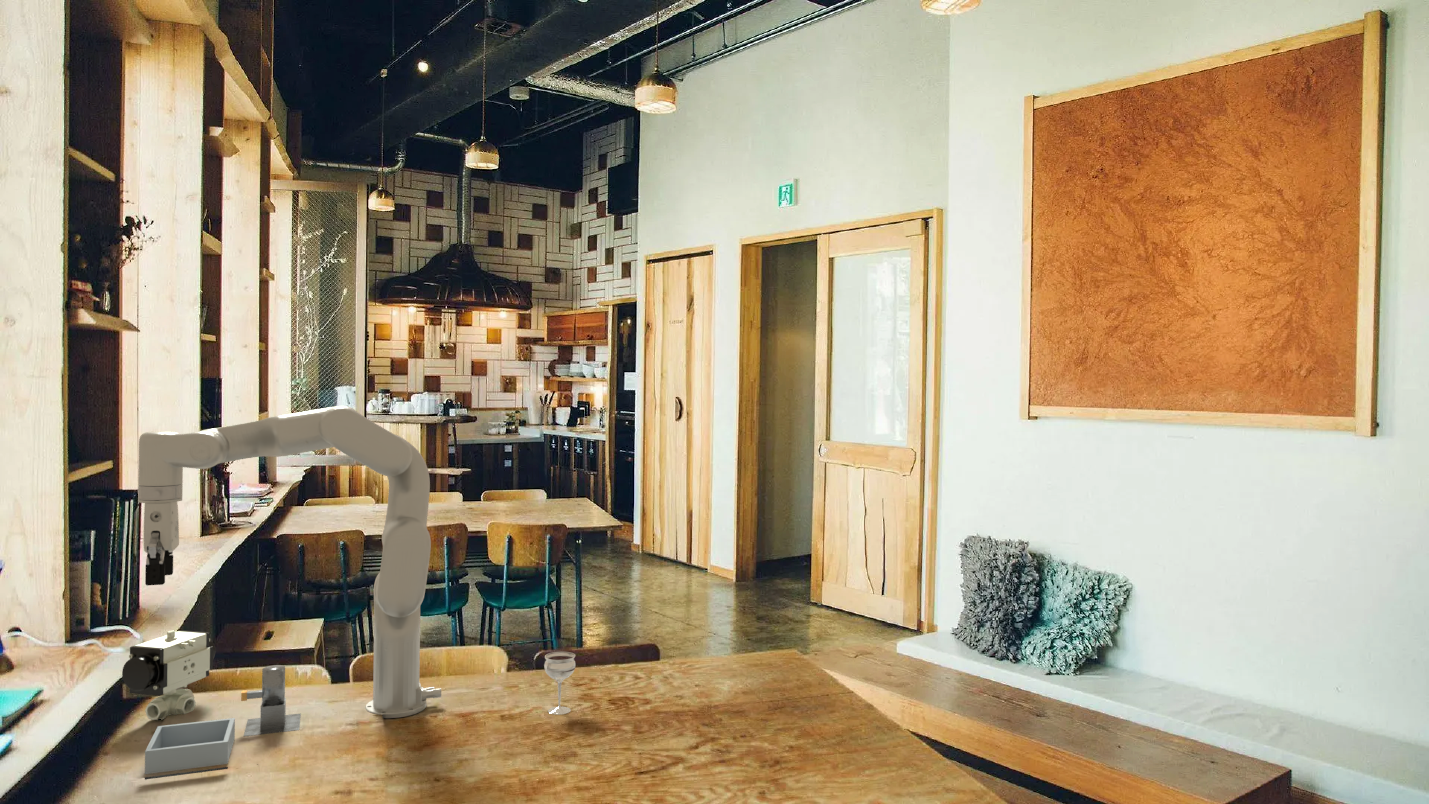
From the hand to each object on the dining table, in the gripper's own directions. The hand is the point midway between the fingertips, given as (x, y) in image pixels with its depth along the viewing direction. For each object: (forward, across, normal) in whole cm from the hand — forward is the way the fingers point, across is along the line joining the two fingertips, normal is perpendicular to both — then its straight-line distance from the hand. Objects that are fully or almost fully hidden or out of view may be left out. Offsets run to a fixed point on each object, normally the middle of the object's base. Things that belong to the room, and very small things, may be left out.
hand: (159, 579), depth 181 cm
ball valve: (+31, +12, -1) cm, 34 cm away
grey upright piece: (+30, -4, -19) cm, 36 cm away
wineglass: (+31, -13, -78) cm, 85 cm away
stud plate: (+31, -4, -21) cm, 38 cm away
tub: (+31, -16, -8) cm, 36 cm away
